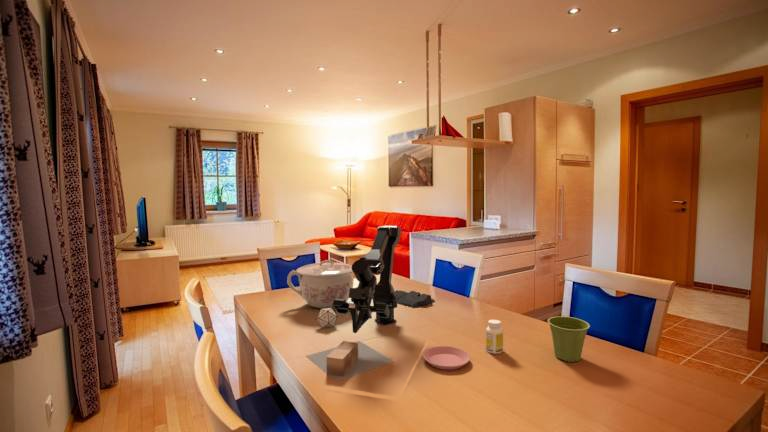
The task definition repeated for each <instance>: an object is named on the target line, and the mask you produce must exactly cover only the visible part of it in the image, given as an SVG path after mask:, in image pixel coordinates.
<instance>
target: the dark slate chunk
mask: <svg viewBox="0 0 768 432" xmlns="http://www.w3.org/2000/svg"><path fill="white" fill-rule="evenodd" d="M394 294H395V296H396V298H397V305H401V306H404V307H407V306H408V308H411V307H412V308H411V309H419V308H422V307H427V306H429V304H430V305H432V304H433V303H434V302H436V300H435V299H434V298H432V295H431V294H427V293H421V292H419V291H418V292H417V291H415V290H410V291H409V292H407V291H405V290H394Z"/></svg>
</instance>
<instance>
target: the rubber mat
mask: <svg viewBox="0 0 768 432" xmlns="http://www.w3.org/2000/svg"><path fill="white" fill-rule="evenodd" d="M356 342H357V343H358V360H357V361H356V362H355V363H354V364H353V365H352V367H351V368H350V369H349V370H348V371H347V372H346V373H345V375H344V376H337V375H330V374H327V361H326V357H327V356H328V355H329V354H330V353H331V352H332V351H333V350H334V349H335V348H336V347H332V348H329V349H326V350H321V351H319V352H315V353H312V354H308V355H305V358H307V359H308V360H309V361H311V362H312V363H313V364H314V365H315V366H317V367H318V368H319V369H321V370H322V371H323V372H324V373H325V374H327V375H328V377H331V379H333V380H334V381H335V382H339V381H342V380H345V379H348V378H350V377H354V376H357V375H360V374H362V373H366V372H368V371H372V370H375V369H376V368H380V367H383V366H386V365H389V364H391V363H394V362H395V361H394V360H392V359H391V358H390V357H387V356H386V355H384V354H383V353H381V352H379V351H377V350H375V349H374V348H372V347H370V346H369V345H367V344H366V343H364V342H362V341H360V340H357V341H356Z"/></svg>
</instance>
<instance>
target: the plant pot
mask: <svg viewBox="0 0 768 432" xmlns="http://www.w3.org/2000/svg"><path fill="white" fill-rule="evenodd" d="M547 323H548V324H549V329H550V331H551V339H552V344H553V351H554V356H555V357H556V358H557V359H558V358H559V359H558V360H560V359H561V361H562V360H563V361H564V362H567V361H568V363H576V362H575V361H577V362H579V361H580V360H581V357H582V352H583V350H584V349H583V348H584V343H585V339H586V335H587V333H588V330H589V329H590V327H591V325H590V323H588V322H587V321H585V320H583V319H580V318H577V317H571V316H564V315H563V316H560V315H559V316H557V315H556V316H552V317H549V318H548V319H547Z"/></svg>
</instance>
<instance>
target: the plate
mask: <svg viewBox="0 0 768 432" xmlns="http://www.w3.org/2000/svg"><path fill="white" fill-rule="evenodd" d="M422 357H423V359H424V360H425V361H426V362H427V363H428V364H429V365H430V366H432V367H434V368H437V369H440V370H447V371H448V370H449V371H450V370H459V369H460V368H462V367H464V366H465V365H466V364H467V363H469V362H470V359H471V357H470V355H469V353H468V352H467V351H465V350H464V349H460V348H457V347H455V346H447V345H445V346H444V345H440V346H432V347H430V348H427V349H425V351H424V352H423V353H422Z"/></svg>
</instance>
